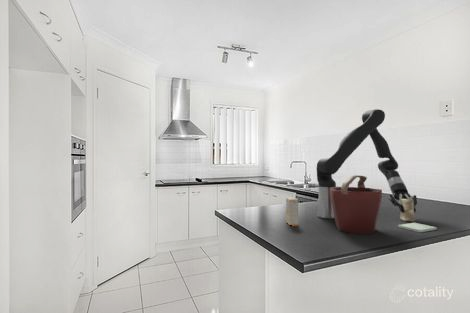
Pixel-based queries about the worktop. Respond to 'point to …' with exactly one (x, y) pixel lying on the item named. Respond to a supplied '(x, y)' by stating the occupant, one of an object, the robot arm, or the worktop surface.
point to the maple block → (407, 210)
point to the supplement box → (292, 211)
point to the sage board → (417, 227)
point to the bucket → (356, 206)
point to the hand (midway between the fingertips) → (408, 211)
